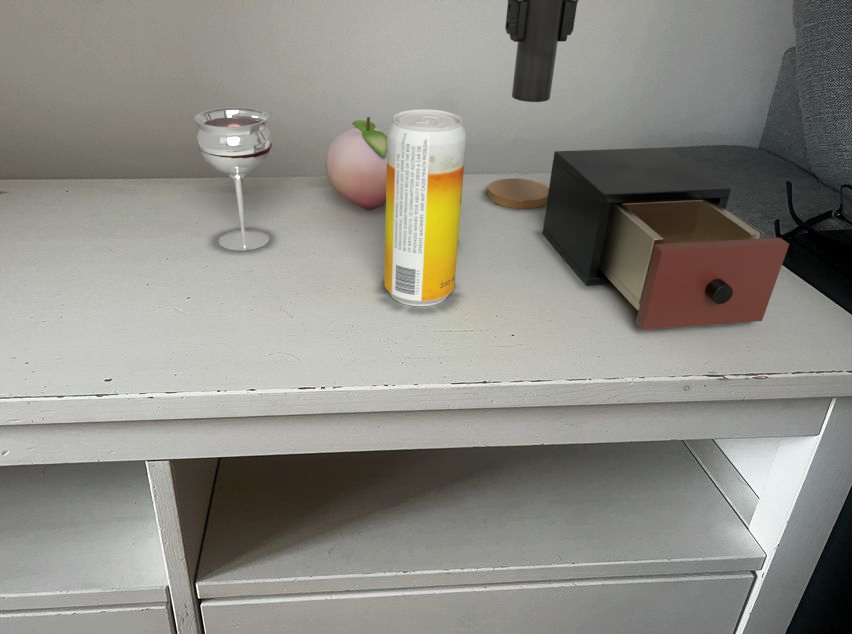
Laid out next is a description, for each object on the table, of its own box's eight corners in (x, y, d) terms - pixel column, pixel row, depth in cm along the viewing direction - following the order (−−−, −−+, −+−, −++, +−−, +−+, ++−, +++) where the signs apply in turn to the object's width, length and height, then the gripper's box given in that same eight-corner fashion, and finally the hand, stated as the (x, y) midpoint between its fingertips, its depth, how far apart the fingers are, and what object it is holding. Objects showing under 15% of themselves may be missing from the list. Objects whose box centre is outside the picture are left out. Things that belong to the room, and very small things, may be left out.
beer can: (461, 283, 64) (475, 112, 56) (443, 315, 60) (456, 133, 51) (396, 272, 66) (401, 104, 58) (374, 302, 61) (376, 124, 53)
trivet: (536, 185, 86) (537, 177, 86) (557, 207, 80) (559, 198, 80) (480, 187, 85) (480, 179, 84) (497, 210, 79) (498, 201, 79)
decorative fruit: (313, 202, 80) (310, 110, 75) (379, 191, 83) (380, 102, 78) (349, 233, 73) (348, 134, 68) (419, 220, 76) (423, 125, 71)
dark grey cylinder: (542, 92, 78) (555, -10, 73) (555, 101, 75) (570, -5, 70) (506, 93, 78) (517, -10, 72) (518, 102, 75) (531, -5, 69)
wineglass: (203, 231, 73) (188, 110, 66) (269, 222, 75) (260, 104, 68) (216, 259, 68) (200, 130, 61) (286, 248, 70) (278, 123, 63)
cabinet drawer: (771, 328, 57) (800, 250, 53) (649, 338, 56) (670, 258, 52) (694, 263, 67) (714, 193, 63) (589, 270, 65) (602, 198, 61)
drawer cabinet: (705, 278, 66) (731, 188, 62) (586, 286, 65) (604, 194, 60) (646, 228, 76) (665, 147, 71) (541, 233, 74) (554, 151, 69)
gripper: (499, -172, 60) (480, 48, 69) (658, -166, 62) (619, 46, 71) (475, -167, 66) (461, 34, 75) (620, -162, 68) (588, 33, 78)
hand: (538, 39), depth 73 cm, fingers closed on dark grey cylinder, 4 cm apart
